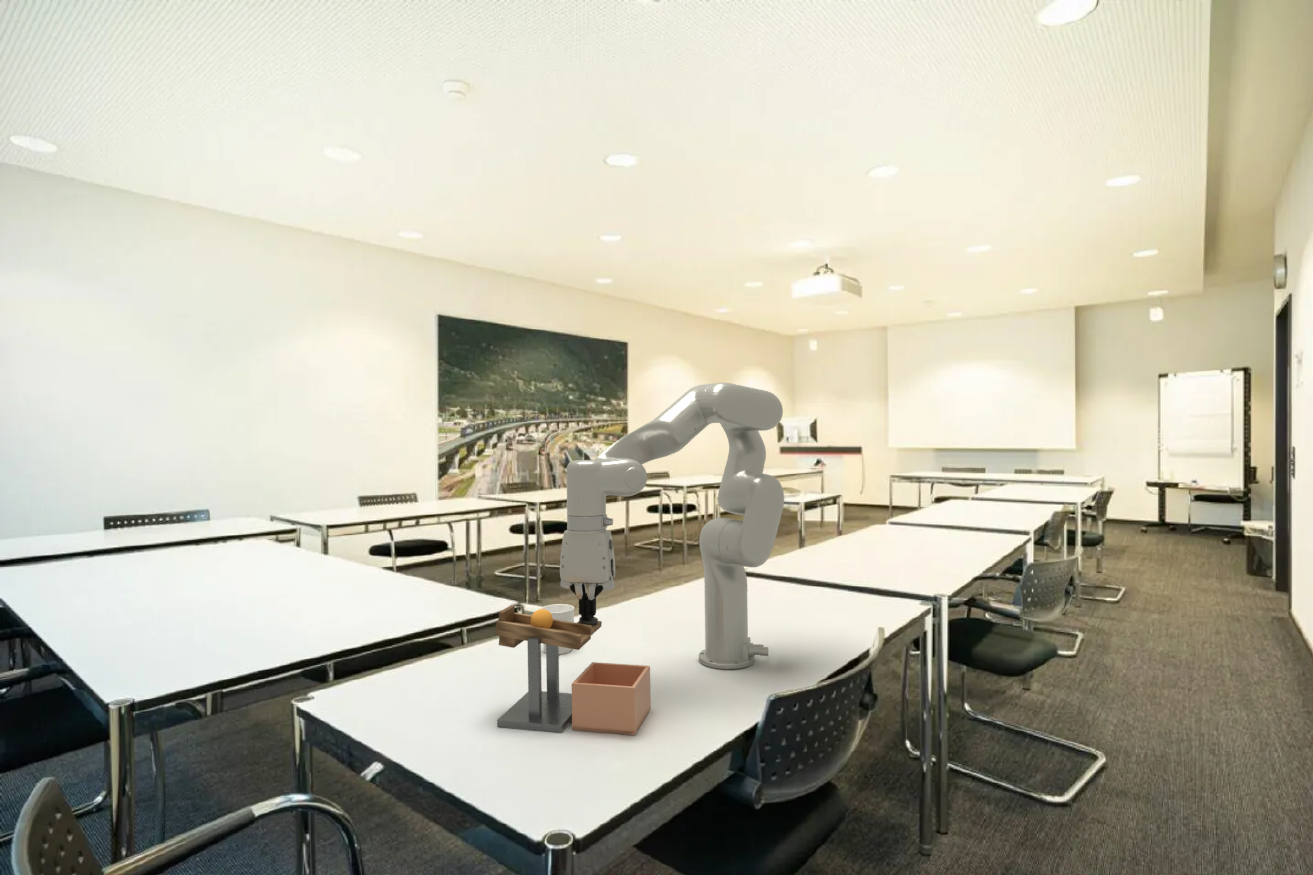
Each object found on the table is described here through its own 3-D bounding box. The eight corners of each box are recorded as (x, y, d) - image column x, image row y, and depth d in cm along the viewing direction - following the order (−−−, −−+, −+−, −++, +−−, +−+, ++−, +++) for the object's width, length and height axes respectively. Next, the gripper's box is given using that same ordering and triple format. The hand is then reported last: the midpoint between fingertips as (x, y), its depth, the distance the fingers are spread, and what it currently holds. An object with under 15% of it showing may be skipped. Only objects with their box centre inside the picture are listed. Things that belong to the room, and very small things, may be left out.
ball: (531, 617, 128) (546, 632, 127) (522, 623, 124) (538, 638, 123) (545, 602, 127) (560, 617, 126) (536, 607, 123) (552, 623, 122)
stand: (588, 701, 131) (587, 622, 130) (561, 732, 117) (560, 644, 117) (529, 696, 133) (528, 619, 133) (497, 726, 120) (495, 641, 120)
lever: (602, 636, 134) (605, 606, 134) (577, 661, 120) (580, 627, 120) (527, 623, 138) (529, 594, 138) (494, 645, 124) (497, 613, 123)
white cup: (568, 656, 157) (567, 613, 157) (536, 654, 159) (535, 611, 159) (579, 645, 165) (578, 604, 165) (548, 644, 166) (547, 603, 166)
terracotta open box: (650, 708, 126) (650, 665, 126) (635, 735, 115) (634, 687, 115) (592, 704, 129) (592, 662, 129) (572, 729, 118) (571, 683, 118)
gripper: (629, 522, 134) (630, 615, 134) (557, 520, 138) (558, 611, 138) (618, 527, 127) (619, 626, 127) (542, 525, 130) (543, 621, 130)
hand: (587, 618), depth 132 cm, fingers closed
